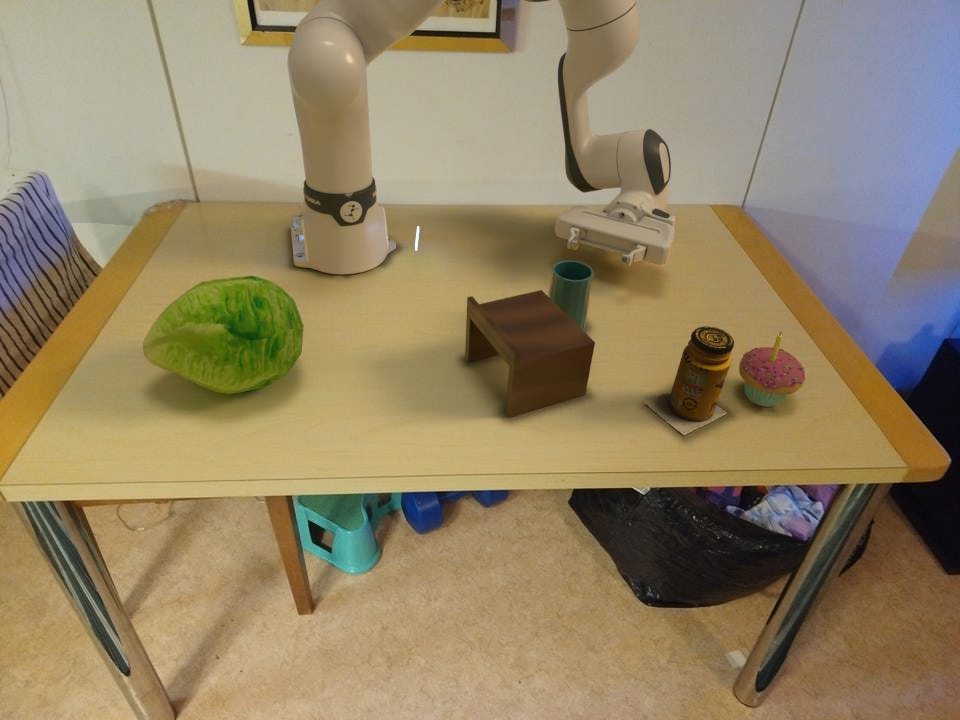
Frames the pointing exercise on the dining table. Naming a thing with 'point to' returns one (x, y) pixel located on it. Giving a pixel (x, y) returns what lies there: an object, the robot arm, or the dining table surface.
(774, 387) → the cupcake
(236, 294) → the lettuce
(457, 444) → the dining table surface
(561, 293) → the cup
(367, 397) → the dining table surface
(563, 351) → the shelf
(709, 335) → the condiment
